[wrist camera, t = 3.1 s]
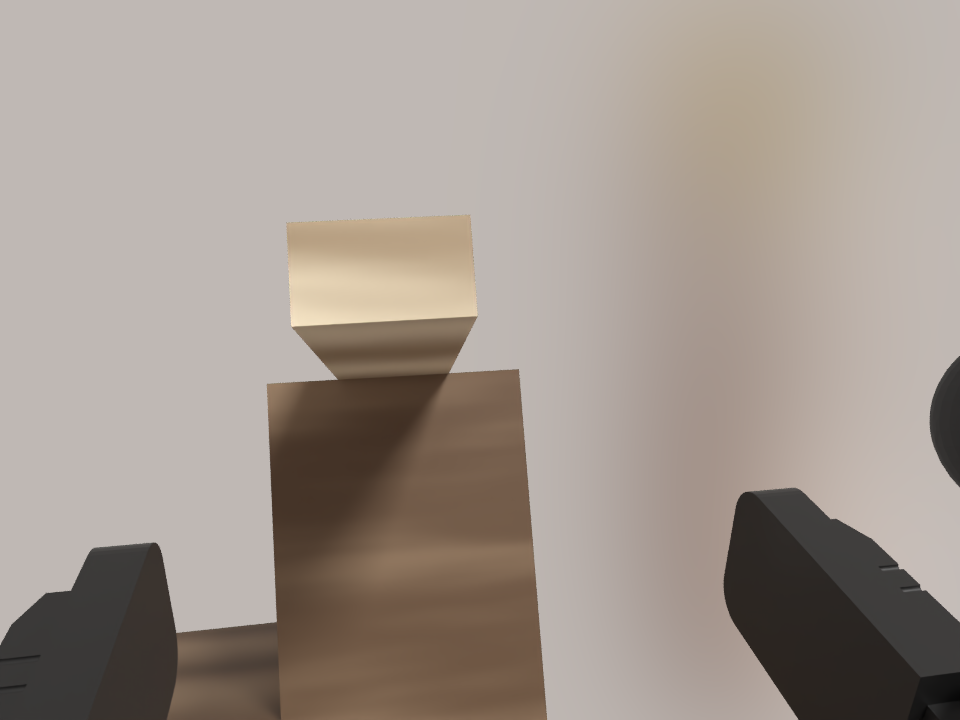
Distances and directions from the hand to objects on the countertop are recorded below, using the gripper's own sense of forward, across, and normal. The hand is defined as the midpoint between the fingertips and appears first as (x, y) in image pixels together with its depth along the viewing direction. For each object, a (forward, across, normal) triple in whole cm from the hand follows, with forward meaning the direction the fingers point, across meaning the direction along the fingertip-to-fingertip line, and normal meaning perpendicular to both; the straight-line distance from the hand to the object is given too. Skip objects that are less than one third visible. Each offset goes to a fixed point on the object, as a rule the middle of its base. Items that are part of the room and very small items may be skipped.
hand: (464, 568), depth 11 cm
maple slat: (+16, 0, +5) cm, 17 cm away
